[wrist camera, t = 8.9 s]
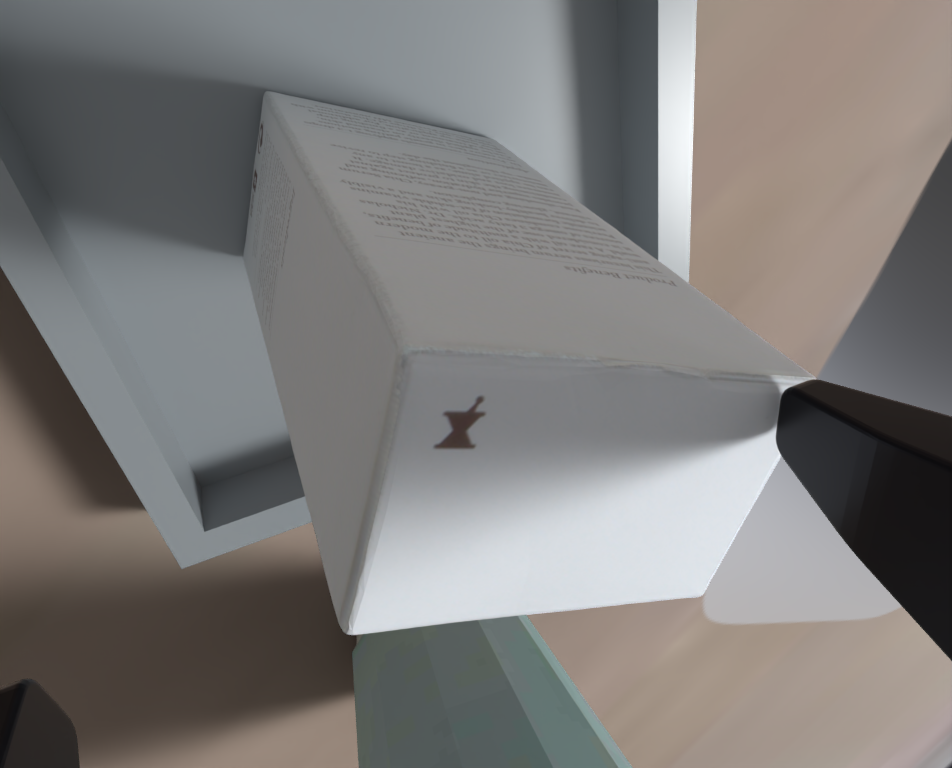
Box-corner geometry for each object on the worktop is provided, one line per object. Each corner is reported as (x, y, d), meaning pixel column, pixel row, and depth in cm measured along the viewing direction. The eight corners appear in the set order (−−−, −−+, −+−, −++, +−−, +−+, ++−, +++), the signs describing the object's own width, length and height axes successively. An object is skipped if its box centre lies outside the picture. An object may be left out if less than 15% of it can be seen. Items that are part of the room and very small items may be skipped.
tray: (179, 509, 22) (181, 568, 20) (-175, -123, 13) (-235, -126, 11) (645, 348, 25) (686, 386, 23) (636, -258, 16) (704, -279, 14)
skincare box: (239, 262, 18) (323, 648, 9) (260, 84, 16) (397, 339, 7) (461, 287, 21) (708, 607, 11) (503, 137, 19) (840, 374, 10)
